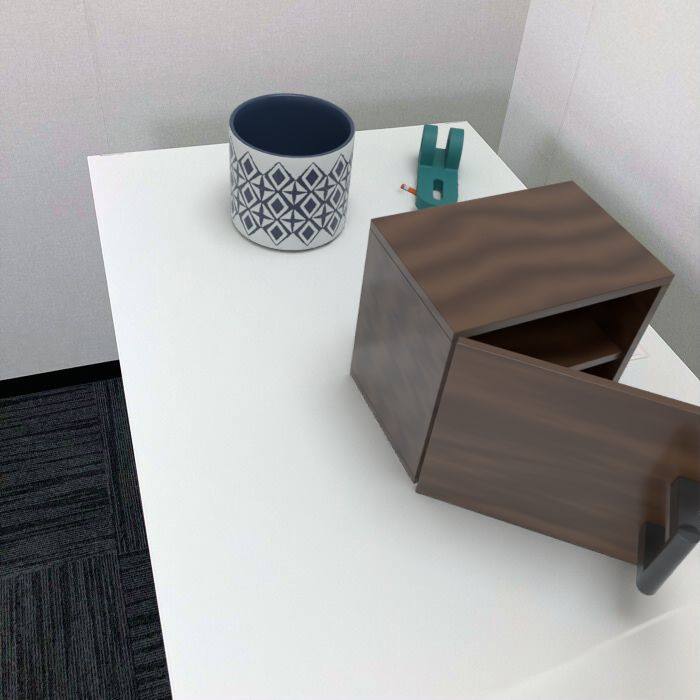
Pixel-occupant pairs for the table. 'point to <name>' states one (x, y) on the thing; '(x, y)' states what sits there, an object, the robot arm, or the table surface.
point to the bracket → (438, 167)
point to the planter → (290, 170)
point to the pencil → (408, 189)
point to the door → (568, 457)
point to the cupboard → (495, 298)
